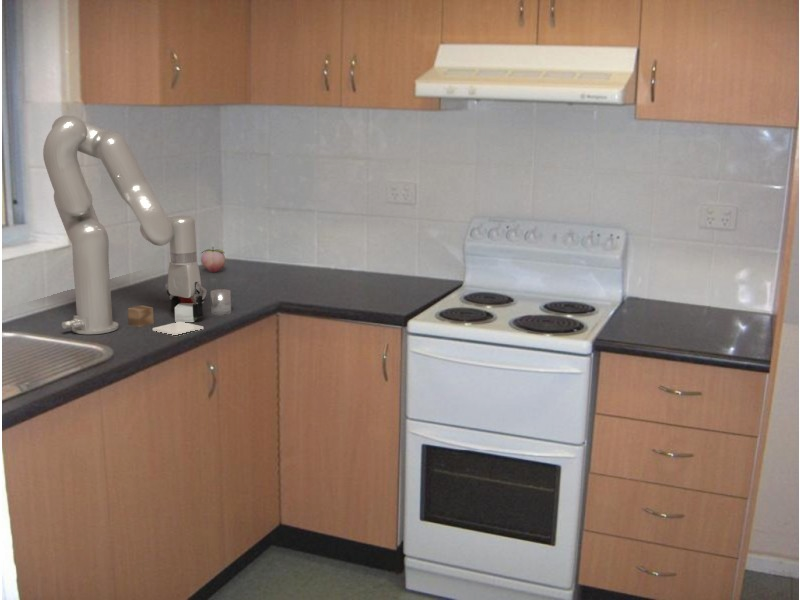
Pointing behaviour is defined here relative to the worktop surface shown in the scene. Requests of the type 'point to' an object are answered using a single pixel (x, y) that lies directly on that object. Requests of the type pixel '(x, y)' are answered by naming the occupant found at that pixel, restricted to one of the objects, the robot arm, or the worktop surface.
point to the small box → (184, 312)
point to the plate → (177, 328)
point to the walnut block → (140, 316)
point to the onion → (186, 300)
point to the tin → (220, 302)
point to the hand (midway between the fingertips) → (187, 314)
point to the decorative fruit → (213, 259)
